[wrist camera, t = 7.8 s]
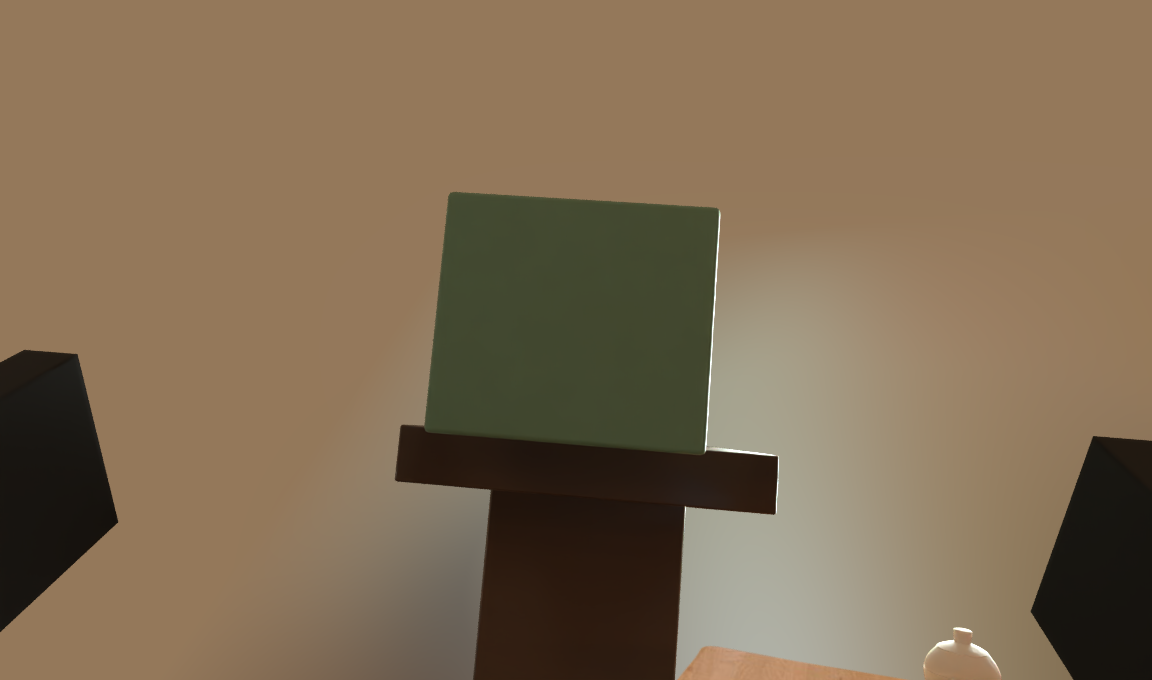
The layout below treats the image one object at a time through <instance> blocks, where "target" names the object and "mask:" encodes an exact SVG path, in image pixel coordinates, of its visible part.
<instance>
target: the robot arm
mask: <svg viewBox="0 0 1152 680" xmlns="http://www.w3.org/2000/svg"><path fill="white" fill-rule="evenodd" d="M117 523H118V519H117V515H116V511H115V507H114V503H113V499H112V495H111V490H110V486H109V482H108V478H107V474H106V470H105V466H104V462H103V457H102V453H101V449H100V445H99V441H98V437H97V433H96V429H95V424H94V421H93V416H92V412H91V408H90V404H89V400H88V396H87V392H86V388H85V383H84V379H83V375H82V371H81V367H80V363H79V359H78V355H77V354H68V353H56V352H43V351H31V350H23V351H21V352H19V353H17V354H16V355H14V356H12V357H10V358H8V359H6V360H4V361H2V362H0V632H1V631H2V630H3V629H4V628H5V627H6V626H7V625H8V624H9V623H11V621H13V619H15V618H16V617H17V616H18V615H19V614H20V613H21V612H22V611H23V610H24V609H25V608H26V607H28V606H29V605H30V604H31V603H32V602H33V601H34V600H35V599H36V598H37V597H38V596H39V595H40V594H42V593H43V592H44V591H45V590H46V589H47V588H48V587H49V586H50V585H51V584H52V583H53V582H55V581H56V580H57V579H58V578H59V577H60V576H61V575H62V574H63V573H64V572H65V571H66V570H67V569H68V568H70V567H71V566H72V565H73V564H74V563H75V562H76V561H77V560H78V559H79V558H80V557H81V556H82V555H83V554H84V553H86V552H87V551H88V550H89V549H90V548H91V547H92V546H93V545H94V544H95V543H96V542H97V541H98V540H100V538H102V537H103V536H104V535H105V534H106V533H107V532H108V531H109V530H110V529H111V528H112V527H114V526H115V525H116V524H117ZM1031 613H1032V614H1033V616H1034V618H1035V619H1036V621H1037V622H1038V624H1039V626H1040V627H1041V629H1042V630H1043V632H1044V633H1045V635H1046V637H1047V638H1048V640H1049V641H1050V643H1051V645H1052V646H1053V648H1054V649H1055V651H1056V652H1057V654H1058V656H1059V657H1060V659H1061V660H1062V662H1063V664H1064V665H1065V667H1066V668H1067V670H1068V672H1069V673H1070V675H1071V676H1072V678H1073V680H1152V441H1147V440H1134V439H1122V438H1110V437H1097V436H1093V438H1092V441H1091V444H1090V447H1089V449H1088V452H1087V455H1086V458H1085V461H1084V464H1083V466H1082V469H1081V472H1080V475H1079V478H1078V480H1077V483H1076V486H1075V489H1074V492H1073V494H1072V497H1071V500H1070V503H1069V506H1068V508H1067V511H1066V514H1065V517H1064V520H1063V523H1062V525H1061V528H1060V531H1059V534H1058V536H1057V539H1056V542H1055V545H1054V548H1053V550H1052V554H1051V556H1050V559H1049V562H1048V565H1047V567H1046V570H1045V573H1044V576H1043V579H1042V582H1041V584H1040V587H1039V590H1038V593H1037V595H1036V598H1035V601H1034V604H1033V607H1032V609H1031Z"/></svg>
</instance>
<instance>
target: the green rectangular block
mask: <svg viewBox="0 0 1152 680" xmlns="http://www.w3.org/2000/svg"><path fill="white" fill-rule="evenodd" d="M445 225H446V226H445V234H444V244H443V253H442V263H441V272H440V282H439V291H438V301H437V311H436V320H435V329H434V339H433V349H432V358H431V368H430V379H429V387H428V396H427V406H426V416H425V425H424V428H425V431H427V432H429V433H441V434H453V435H465V436H477V437H489V438H500V439H512V440H524V441H536V442H548V443H560V444H572V445H584V446H596V447H608V448H620V449H632V450H644V451H656V452H668V453H680V454H692V455H702V454H704V453H705V451H706V440H707V424H708V407H709V390H710V373H711V357H712V341H713V324H714V307H715V291H716V274H717V258H718V241H719V225H720V211H719V209H717V208H711V207H694V206H677V205H661V204H644V203H628V202H611V201H595V200H577V199H561V198H544V197H529V196H511V195H496V194H479V193H461V192H452V193H450V194H449V196H448V207H447V215H446V224H445Z"/></svg>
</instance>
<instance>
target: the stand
mask: <svg viewBox="0 0 1152 680" xmlns="http://www.w3.org/2000/svg"><path fill="white" fill-rule="evenodd" d="M778 469H779V457H778V456H775V455H768V454H760V453H754V452H747V451H739V450H732V449H725V448H718V447H707V446H706V451H705V453H704V454H702V455H692V454H680V453H668V452H656V451H644V450H632V449H620V448H608V447H596V446H584V445H572V444H560V443H548V442H536V441H524V440H512V439H500V438H489V437H477V436H465V435H453V434H441V433H429V432H427V431H425V428H424V426H420V425H401V428H400V437H399V446H398V456H397V464H396V473H395V480H396V481H398V482H410V483H421V484H432V485H444V486H455V487H466V488H478V489H489V490H491V494H490V504H489V515H488V526H487V537H486V547H485V558H484V569H483V579H482V590H481V601H480V611H479V622H478V633H477V643H476V654H475V665H474V676H473V680H675V668H676V651H677V636H678V620H679V604H680V588H681V573H682V557H683V541H684V525H685V509H686V507H694V508H704V509H715V510H727V511H738V512H751V513H760V514H773V515H774V514H776V510H777V488H778Z"/></svg>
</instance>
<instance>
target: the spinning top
mask: <svg viewBox="0 0 1152 680" xmlns="http://www.w3.org/2000/svg"><path fill="white" fill-rule="evenodd" d="M953 636H954V640H950V641H944V642H940V643H937V645H936V646H935V647H934V648H932V649H931V650H930V651H929V653H928V654H927V656H926V658H925V660H924V665H923V668H924V676H925V680H1002V677H1001V674H1000V671H999V668H998V667H997V665H996V663H995V662H994V660H993V659H992V658H991V657H990V656H989V653H987V652H986V651H985V650H983V649H982V648H980V647H978V646H976V645H974V644H971V641H972V631H970V630H968V629H963V628H954V629H953Z"/></svg>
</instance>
